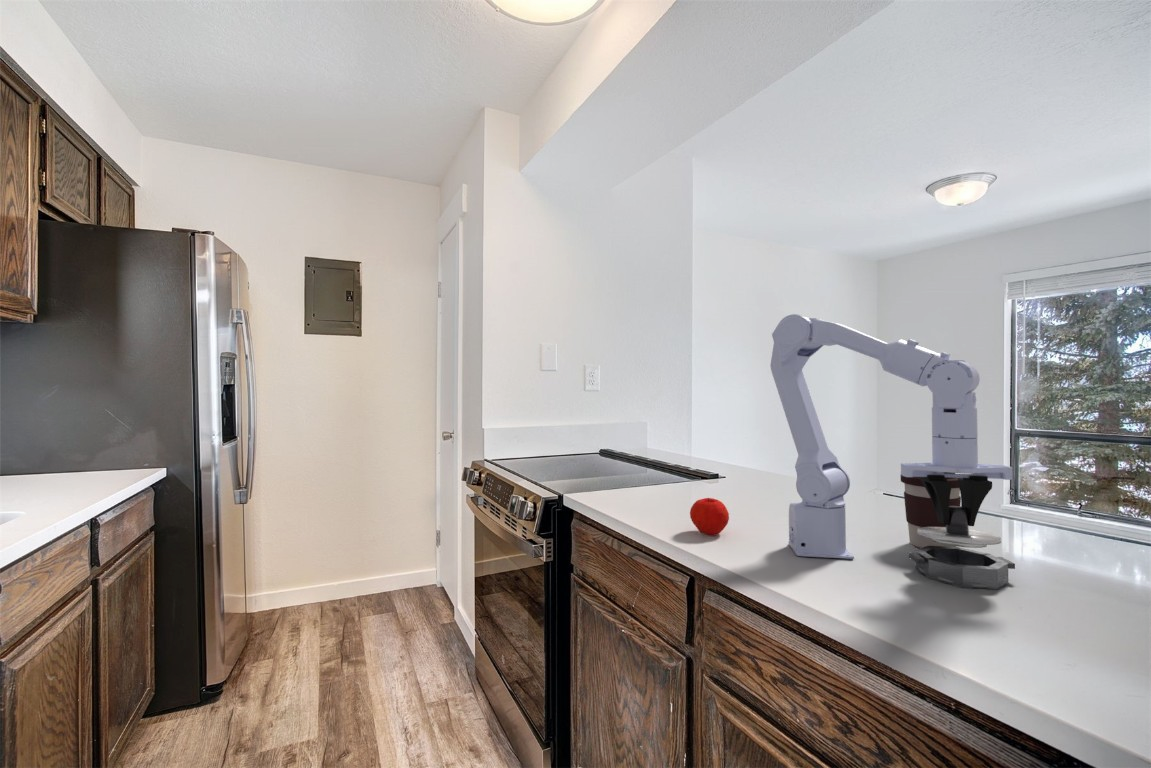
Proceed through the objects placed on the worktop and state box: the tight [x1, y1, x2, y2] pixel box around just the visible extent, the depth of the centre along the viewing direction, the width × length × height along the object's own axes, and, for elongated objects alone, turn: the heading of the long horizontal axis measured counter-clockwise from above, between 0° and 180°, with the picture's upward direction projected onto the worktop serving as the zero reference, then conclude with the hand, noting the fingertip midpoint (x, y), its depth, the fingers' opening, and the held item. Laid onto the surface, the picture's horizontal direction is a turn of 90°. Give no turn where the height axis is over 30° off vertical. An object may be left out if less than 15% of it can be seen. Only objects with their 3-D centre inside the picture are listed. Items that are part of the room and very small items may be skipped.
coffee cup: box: [900, 472, 961, 549], centre depth 97 cm, size 10×10×15 cm
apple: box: [689, 497, 730, 536], centre depth 107 cm, size 8×8×7 cm
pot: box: [908, 546, 1016, 590], centre depth 82 cm, size 14×11×3 cm
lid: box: [917, 505, 1002, 549], centre depth 80 cm, size 10×10×5 cm
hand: (955, 524), depth 80 cm, fingers closed on lid, 3 cm apart
